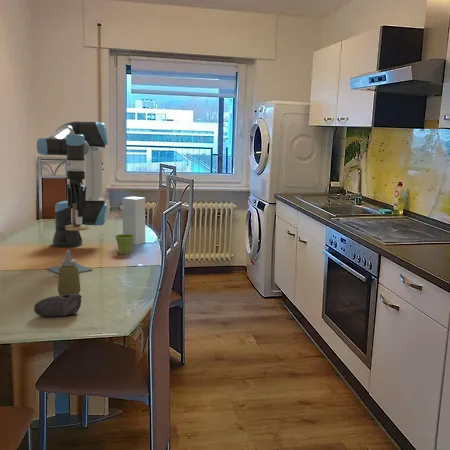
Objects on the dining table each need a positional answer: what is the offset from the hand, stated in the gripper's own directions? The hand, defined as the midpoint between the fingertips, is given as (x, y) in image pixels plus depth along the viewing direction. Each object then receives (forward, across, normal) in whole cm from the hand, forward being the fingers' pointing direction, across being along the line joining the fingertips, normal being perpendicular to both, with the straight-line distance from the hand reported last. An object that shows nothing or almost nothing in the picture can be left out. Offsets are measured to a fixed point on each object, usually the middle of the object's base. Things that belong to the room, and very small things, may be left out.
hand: (76, 223), depth 225 cm
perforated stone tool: (+21, +50, -36) cm, 66 cm away
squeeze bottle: (+21, +38, -25) cm, 50 cm away
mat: (+20, +3, -6) cm, 21 cm away
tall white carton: (+19, -24, +49) cm, 58 cm away
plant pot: (+19, -9, +32) cm, 38 cm away
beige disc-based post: (+2, 0, 0) cm, 2 cm away
